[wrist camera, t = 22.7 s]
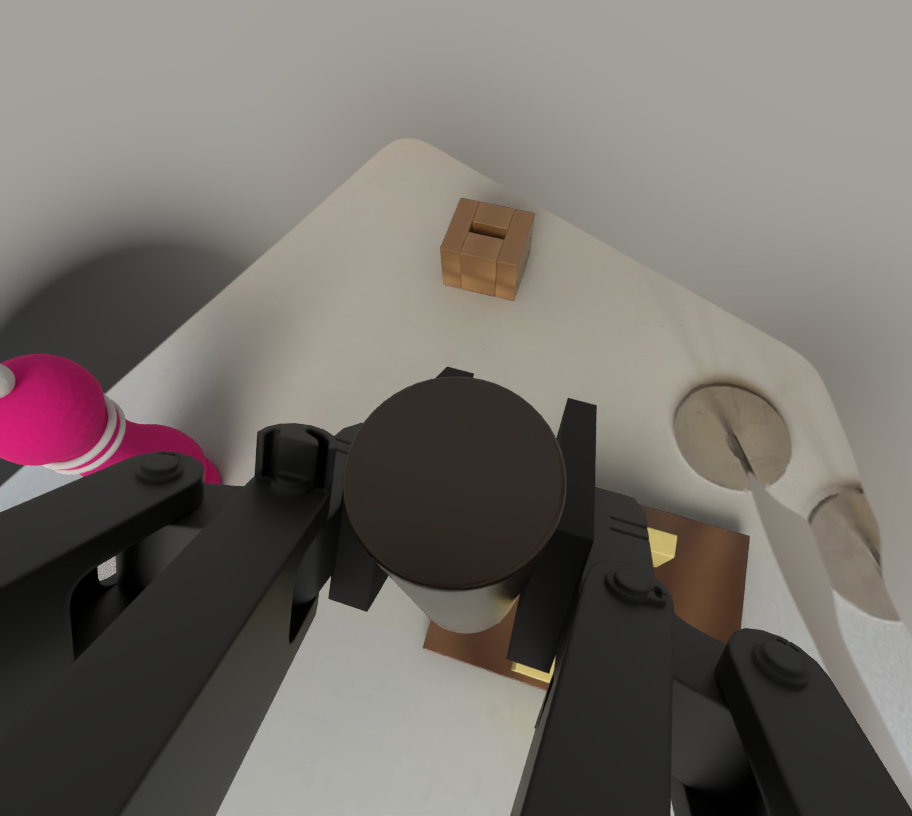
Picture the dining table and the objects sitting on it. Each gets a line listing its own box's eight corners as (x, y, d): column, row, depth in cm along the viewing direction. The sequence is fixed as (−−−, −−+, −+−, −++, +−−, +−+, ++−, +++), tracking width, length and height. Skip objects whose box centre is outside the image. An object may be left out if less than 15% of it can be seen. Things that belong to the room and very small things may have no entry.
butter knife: (512, 584, 21) (588, 404, 7) (494, 655, 20) (536, 625, 6) (447, 563, 22) (387, 352, 7) (426, 632, 21) (304, 549, 6)
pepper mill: (237, 517, 43) (62, 409, 25) (144, 553, 42) (-108, 468, 24) (218, 437, 46) (50, 289, 28) (131, 469, 45) (-102, 337, 27)
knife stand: (530, 251, 53) (535, 212, 49) (513, 301, 51) (517, 265, 46) (462, 236, 54) (460, 197, 50) (443, 284, 52) (439, 248, 47)
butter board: (740, 540, 41) (749, 535, 40) (719, 750, 36) (728, 754, 34) (481, 465, 44) (481, 459, 43) (424, 648, 39) (422, 648, 37)
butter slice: (659, 547, 40) (678, 535, 36) (656, 567, 39) (674, 558, 35) (549, 515, 41) (556, 500, 37) (544, 534, 40) (551, 521, 37)
